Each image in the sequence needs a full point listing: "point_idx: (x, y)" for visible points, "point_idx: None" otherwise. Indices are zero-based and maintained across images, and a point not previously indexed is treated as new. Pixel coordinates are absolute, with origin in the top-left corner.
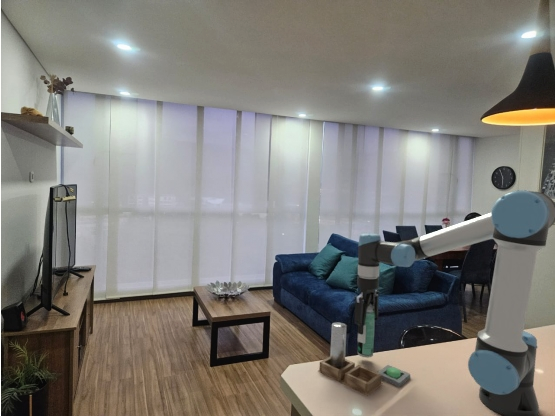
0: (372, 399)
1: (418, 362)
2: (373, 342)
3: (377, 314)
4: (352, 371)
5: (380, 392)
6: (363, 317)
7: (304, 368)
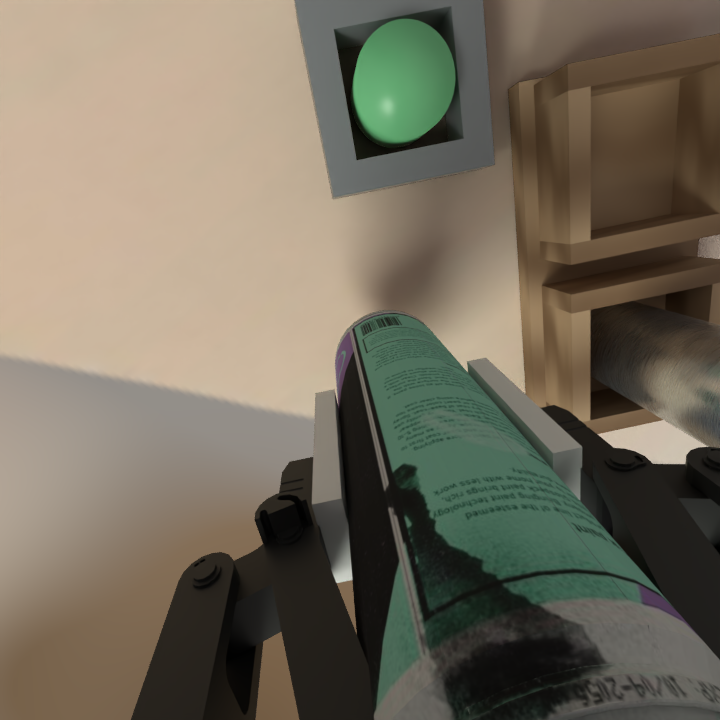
0: (672, 32)
1: (14, 161)
2: (367, 350)
3: (199, 592)
4: (679, 222)
5: (572, 55)
6: (707, 543)
7: (667, 450)
